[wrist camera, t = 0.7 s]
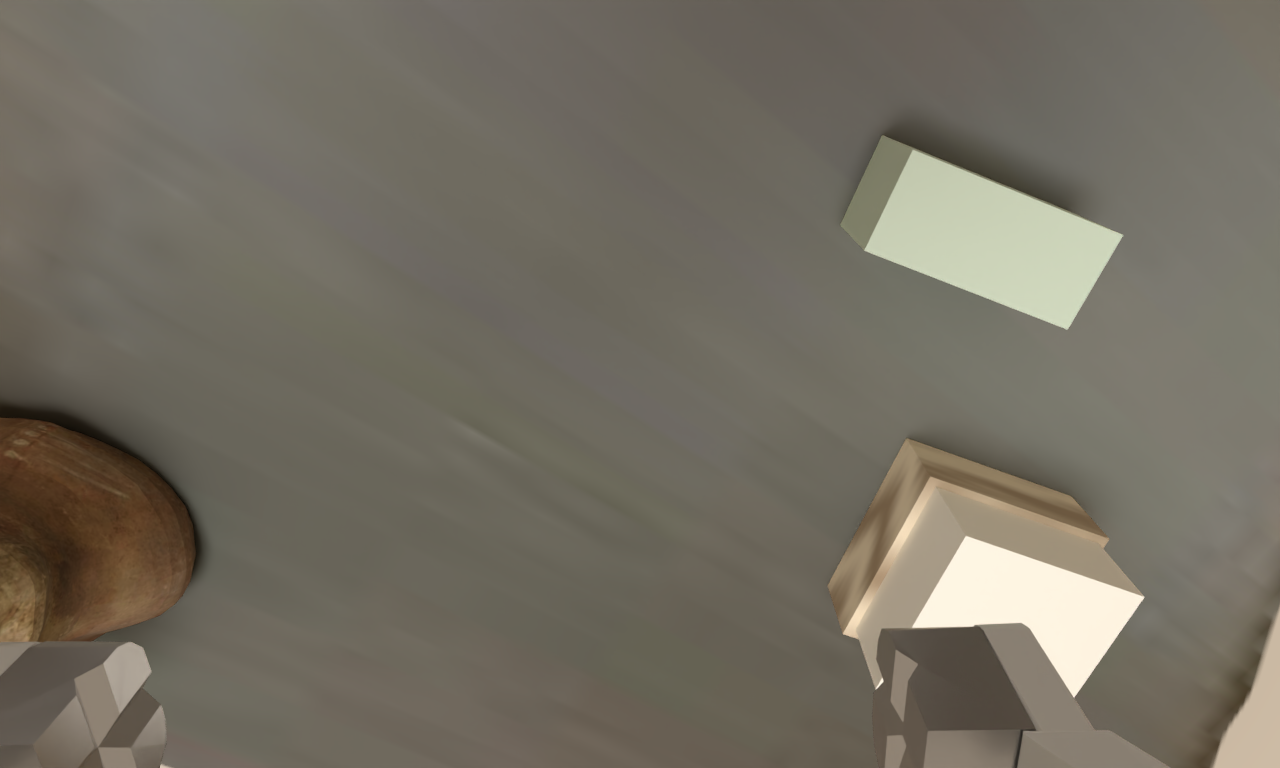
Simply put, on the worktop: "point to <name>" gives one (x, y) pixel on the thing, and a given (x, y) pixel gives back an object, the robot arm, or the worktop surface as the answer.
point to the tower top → (1002, 584)
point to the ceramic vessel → (84, 536)
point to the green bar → (977, 233)
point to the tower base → (905, 502)
